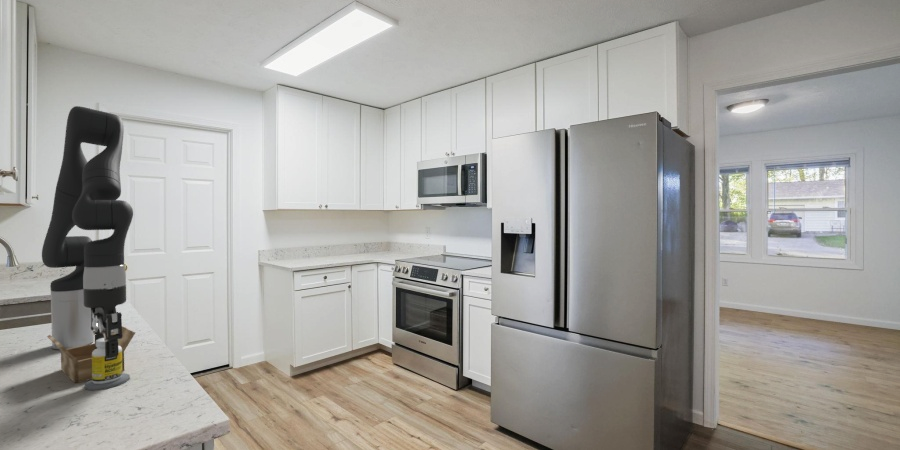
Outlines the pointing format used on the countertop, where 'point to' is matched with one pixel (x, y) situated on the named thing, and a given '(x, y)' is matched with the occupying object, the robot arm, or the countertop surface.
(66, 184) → the robot arm
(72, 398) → the countertop surface
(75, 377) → the carton
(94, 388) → the coaster
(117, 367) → the supplement bottle
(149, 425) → the countertop surface
